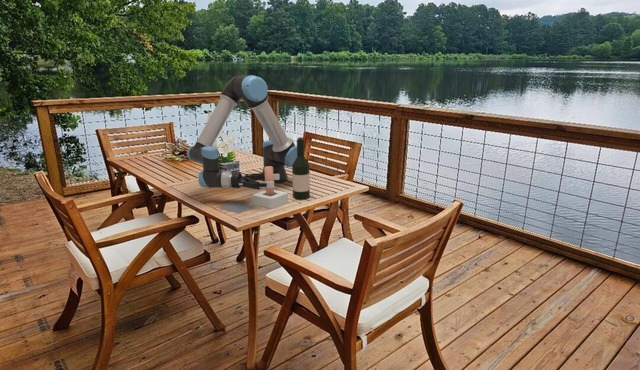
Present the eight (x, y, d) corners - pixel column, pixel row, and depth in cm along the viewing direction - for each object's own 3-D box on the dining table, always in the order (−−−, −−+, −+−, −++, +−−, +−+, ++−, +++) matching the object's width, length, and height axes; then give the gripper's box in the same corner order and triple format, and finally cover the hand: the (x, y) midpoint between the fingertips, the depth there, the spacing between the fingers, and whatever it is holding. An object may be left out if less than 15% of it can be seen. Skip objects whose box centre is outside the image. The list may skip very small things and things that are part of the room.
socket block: (252, 204, 199) (252, 194, 198) (269, 198, 208) (269, 188, 207) (271, 209, 192) (271, 199, 191) (288, 202, 202) (288, 192, 200)
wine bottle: (292, 195, 213) (291, 136, 205) (309, 194, 214) (308, 136, 205) (293, 200, 205) (291, 139, 197) (310, 199, 206) (309, 139, 197)
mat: (217, 208, 195) (217, 207, 194) (236, 201, 204) (236, 200, 204) (238, 214, 187) (238, 213, 187) (257, 207, 196) (257, 206, 196)
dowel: (264, 204, 200) (262, 167, 195) (270, 201, 203) (268, 165, 198) (270, 205, 198) (268, 168, 193) (276, 203, 201) (274, 166, 196)
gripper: (239, 180, 212) (281, 181, 210) (225, 195, 188) (272, 196, 186) (238, 166, 209) (281, 166, 208) (223, 179, 186) (271, 180, 184)
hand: (276, 180), depth 197 cm, fingers open, 13 cm apart
